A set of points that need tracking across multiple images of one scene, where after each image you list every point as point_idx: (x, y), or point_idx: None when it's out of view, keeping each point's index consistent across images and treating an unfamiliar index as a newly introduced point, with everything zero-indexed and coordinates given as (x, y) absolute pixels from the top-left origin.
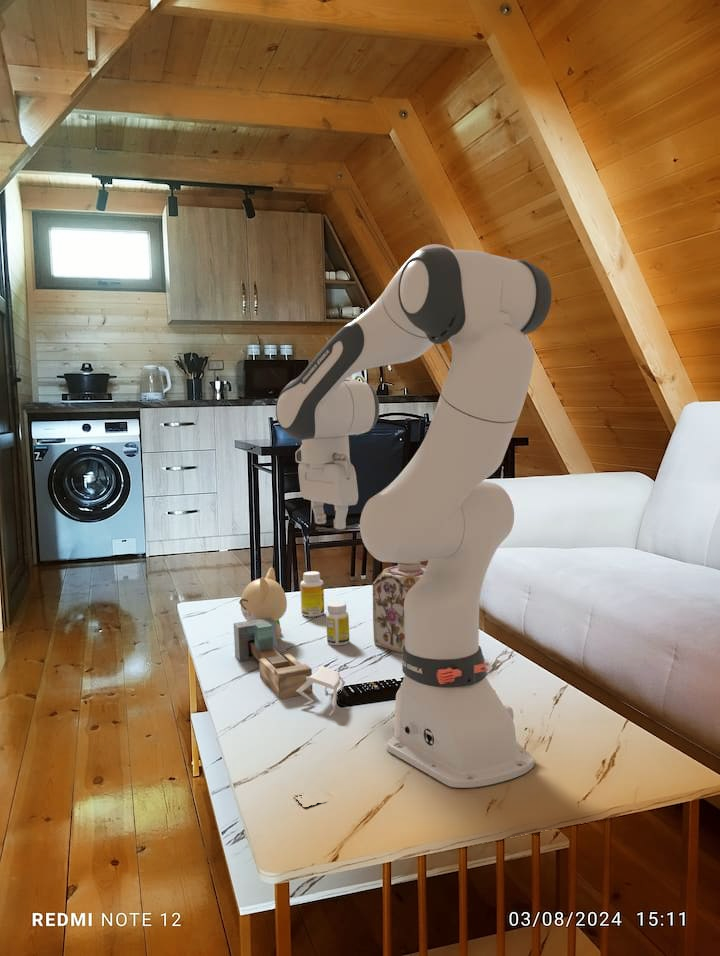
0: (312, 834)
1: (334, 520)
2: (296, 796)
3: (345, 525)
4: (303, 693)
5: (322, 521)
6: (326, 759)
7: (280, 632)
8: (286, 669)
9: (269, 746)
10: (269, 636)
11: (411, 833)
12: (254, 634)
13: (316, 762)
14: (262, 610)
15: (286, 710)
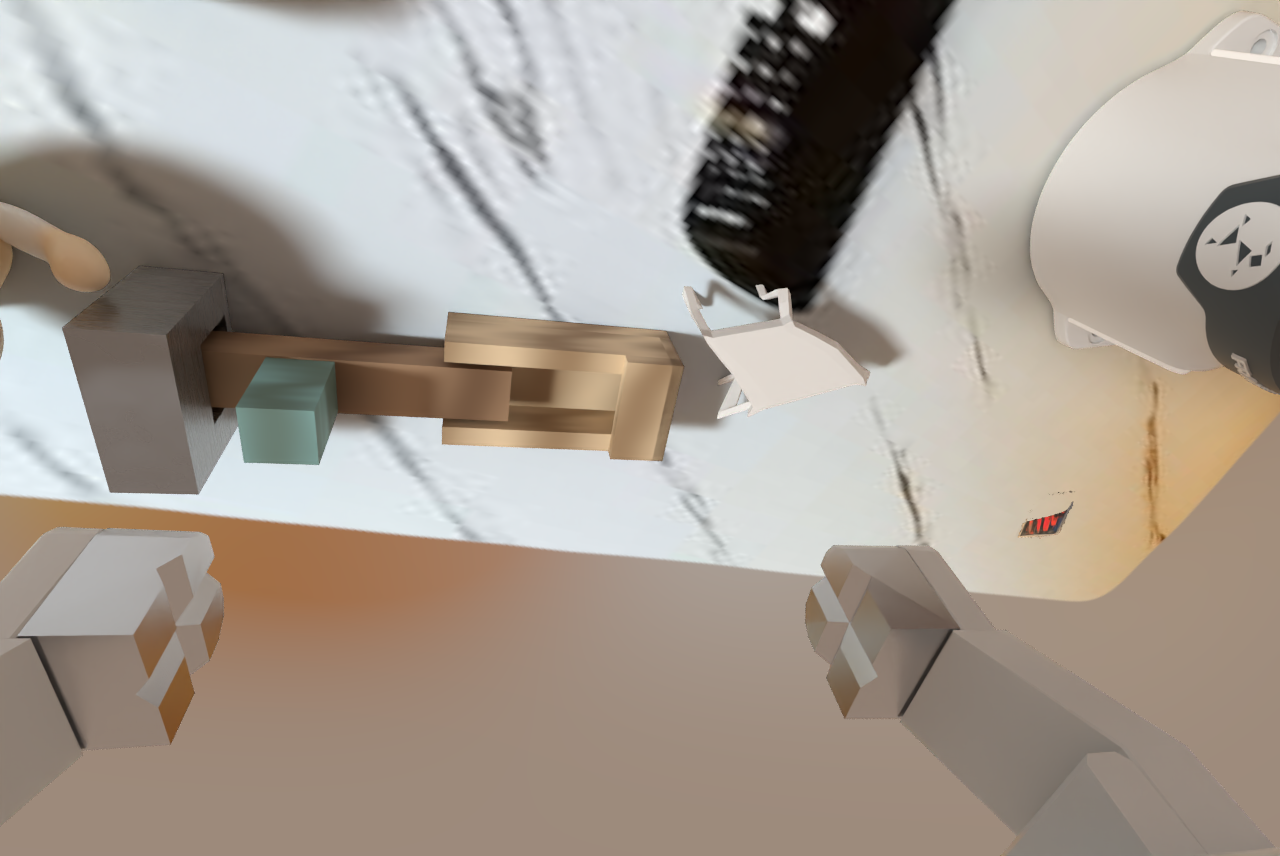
0: (1106, 544)
1: (872, 707)
2: (1023, 532)
3: (946, 564)
4: (736, 403)
5: (193, 588)
6: (978, 452)
7: (98, 253)
8: (637, 430)
9: (851, 515)
10: (325, 400)
11: (1230, 443)
12: (201, 411)
13: (970, 470)
14: None
15: (723, 431)
